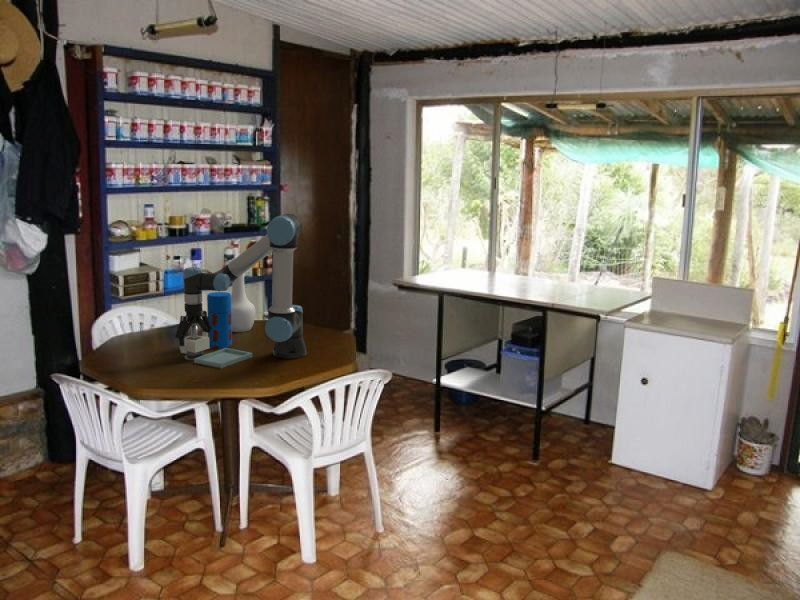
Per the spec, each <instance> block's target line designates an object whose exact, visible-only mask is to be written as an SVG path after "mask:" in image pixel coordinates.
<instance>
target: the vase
mask: <svg viewBox="0 0 800 600" xmlns="http://www.w3.org/2000/svg"><path fill="white" fill-rule="evenodd" d="M230 294H231V318H232V333H244V332H249V331H251V329H252V328H253V325H254V323H255V319H256V308H255V305H254V304H253V303H252V302H251V301H250V300H249V299H248V296H247V294H246V288H245V273H243V274H242V275H241V276H239V277H238V278H237V279H236V280H235V281H234V282H233V283H231V293H230Z"/></svg>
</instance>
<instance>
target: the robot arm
mask: <svg viewBox="0 0 800 600" xmlns="http://www.w3.org/2000/svg"><path fill="white" fill-rule="evenodd" d="M302 232H303V223H302V221H301V219H300V218H299V217H298V216H297V215H296V214H292V213H285V214H282V215H277V216H275V217H274V218H273V219H271V220H270V221H269V223H268V224H267V227H266V234H265V235H264V236H263V237H261V238H260V239H259V240H257V241H256V242H255V243H254V244H252V245H251V246H249V248H247V249H246V250H244V251H243V252H242V253H240V254H239V255H238V256H237V257H235V258H234V259H233V260H231V261H230V262H229V263H228V264H226V265H225V266H223V267H222V268H221V269H220V270H218V271H215V272H211V273H210V272H207V273H206V272H203V271H202V268H200V267H195V266H193V267H192V266H191V267H186V268H184V269H183V291H184V292H183V294H184V297H183V298H184V301H183V302H184V312H185V315H180V318H179V324H178V327H177V330H176V334H175V338H176V339H179V340H178V341H179V348H180V347H181V350H180V354H181V353H182V354H187V351H186V339H185V337H187V334H188V332H189V330H190V329H191V326H192V324H197V325H198V326H199V327H200V328H201V330H203V331H202V332H201V336H204V337H209V332H210V331H211V330H210V329H212V326H211V324H210V321H209V319H208V311H206V310H203V303H202V302H203V291H211V292H212V291H214V292H227V291H228V290H229V288H230V285H232V283H233V282H234V281H235V280H236V279H237V278H238V277H239V276H241V275H242V274H243V273H244V274H245V273H246V272H248V271H249V270H250V269H251V268H253V267H254V266H255V265H257V264H259V262H261V261H262V260H263V259H264V258H266V257H267V256H268V255H270V254H271V253H272V279H271V280H272V283H271V284H272V285H271V288H272V290H271V306H270V307H269V308H267V309H268V311H267V312H268V313H267V320H266V323H265V326H264V330H265V333H266V335H267V337H268V338H269V339H270V340H271V341H274V342H275V343H274V345H273V350H272V355H273V357H275V358H279V359H285V360H286V359H288V360H289V359H290V360H292V359H293V360H294V359H300V358H303V357H305V356H307V347H306V344H305V341H304V337H303V332H304V331H303V330H304V329H303V327H304V326H303V325H304V323H303V322H304V321H303V314H304V312H303V307H302V306H301V305H298V304H293V287H294V286H293V285H294V284H293V283H294V282H293V281H294V280H293V279H294V274H293V273H294V251H295V250H296V249H297V248H298V238H299V237H300V235H301V234H302Z"/></svg>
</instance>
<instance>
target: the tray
mask: <svg viewBox="0 0 800 600" xmlns="http://www.w3.org/2000/svg"><path fill="white" fill-rule="evenodd" d="M251 358H253V353H252V352H249V351H243V350H238V349H234V348H230V347H229V348H224V349H218V350H216V351H212V352H209V353H206V354H204V355H203V356H200V357H197V358H194V361H193V362H194V364H198V365H201V366H206V367H207V366H208V367H212V368H216V369H224V368H227V367H230V366H233V365H235V364H237V363H240V362H241V363H242V362H243V361H246V360H248V359H249V360H250V359H251Z"/></svg>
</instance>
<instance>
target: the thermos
mask: <svg viewBox="0 0 800 600" xmlns="http://www.w3.org/2000/svg"><path fill="white" fill-rule="evenodd" d="M231 294H232V293H230V292H227V291H214V292H209V293H207V295H206V296H207V297H206V301H207V302H206V303H207V304H206V305H207V311H206V312H207V317H208V319H209V321H210V324H211V326H212V329H210V330H211V331H210V332H209V344H210V348H209V349H213V350H214V349H215V350H216V349H218V350H221V349H224V348H228V347H229V348H230V347H233V346H232V345H233V343H232V342H233V332H232V318H231Z"/></svg>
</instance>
